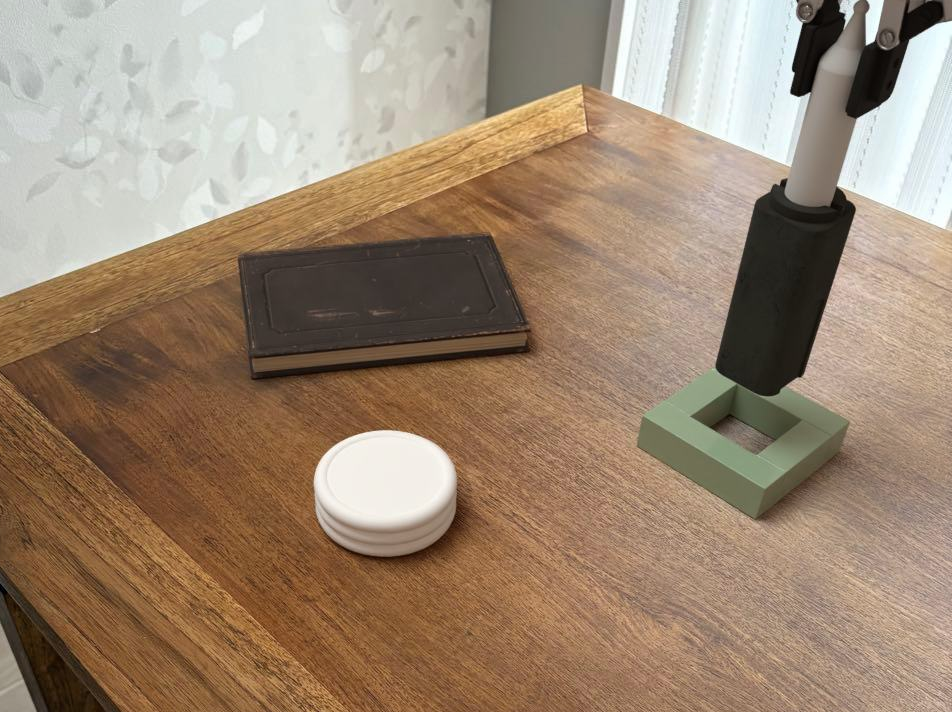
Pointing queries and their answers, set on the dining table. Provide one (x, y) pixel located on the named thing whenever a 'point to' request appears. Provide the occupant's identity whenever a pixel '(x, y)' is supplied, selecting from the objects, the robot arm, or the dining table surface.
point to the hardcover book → (378, 304)
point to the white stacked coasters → (385, 493)
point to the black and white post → (796, 236)
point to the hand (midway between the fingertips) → (836, 96)
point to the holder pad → (728, 464)
